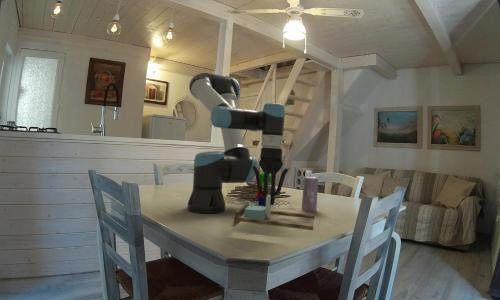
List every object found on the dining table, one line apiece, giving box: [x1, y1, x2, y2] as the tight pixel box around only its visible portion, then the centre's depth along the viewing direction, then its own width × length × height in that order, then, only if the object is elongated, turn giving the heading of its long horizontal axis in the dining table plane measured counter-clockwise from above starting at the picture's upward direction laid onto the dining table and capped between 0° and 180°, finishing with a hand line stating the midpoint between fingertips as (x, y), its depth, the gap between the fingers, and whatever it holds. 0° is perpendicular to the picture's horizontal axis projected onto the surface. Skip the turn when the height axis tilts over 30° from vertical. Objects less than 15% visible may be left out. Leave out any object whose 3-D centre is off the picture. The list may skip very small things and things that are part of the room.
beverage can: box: [301, 176, 319, 213], centre depth 122 cm, size 6×6×15 cm
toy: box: [255, 172, 271, 207], centre depth 131 cm, size 8×8×15 cm
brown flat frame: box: [233, 203, 315, 230], centre depth 104 cm, size 26×16×4 cm, turn 76°
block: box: [244, 204, 267, 220], centre depth 106 cm, size 7×7×3 cm
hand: (268, 213), depth 105 cm, fingers closed
